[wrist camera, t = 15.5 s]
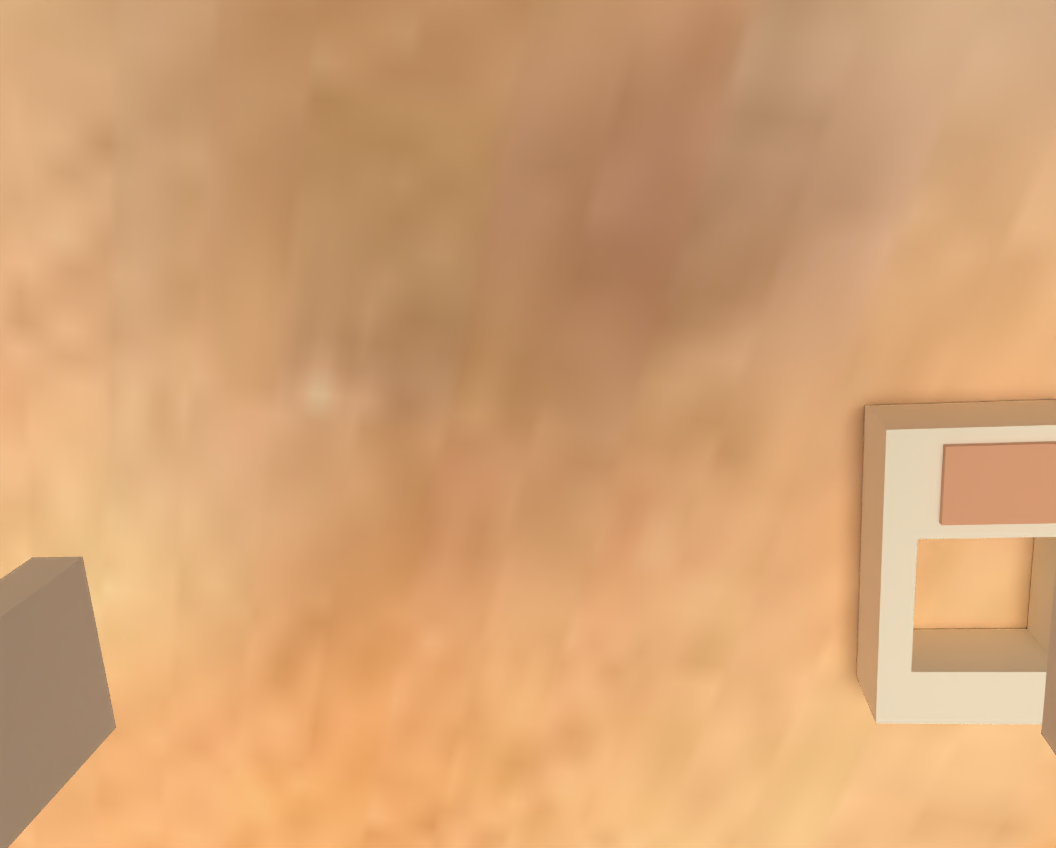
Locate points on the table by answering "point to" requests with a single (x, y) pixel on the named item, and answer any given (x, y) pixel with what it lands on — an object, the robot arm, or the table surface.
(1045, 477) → the socket block
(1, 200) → the table surface
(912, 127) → the table surface
